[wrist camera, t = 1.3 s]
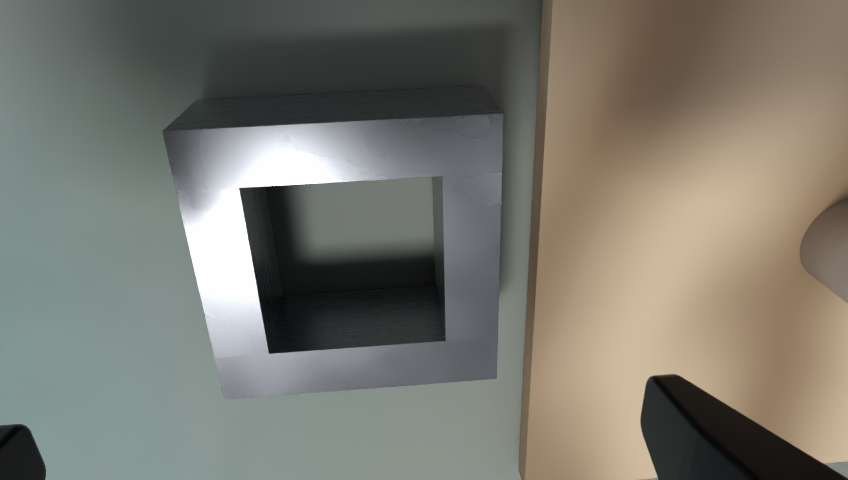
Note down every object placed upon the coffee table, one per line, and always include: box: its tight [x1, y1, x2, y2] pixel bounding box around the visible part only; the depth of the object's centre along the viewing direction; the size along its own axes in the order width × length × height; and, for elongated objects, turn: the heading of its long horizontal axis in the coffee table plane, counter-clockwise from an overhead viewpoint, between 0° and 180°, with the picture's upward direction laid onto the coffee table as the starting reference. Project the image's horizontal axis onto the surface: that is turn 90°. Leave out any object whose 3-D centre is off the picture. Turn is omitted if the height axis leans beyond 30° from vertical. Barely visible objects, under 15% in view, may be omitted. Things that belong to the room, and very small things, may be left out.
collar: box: [163, 86, 504, 400], centre depth 14 cm, size 6×6×2 cm
